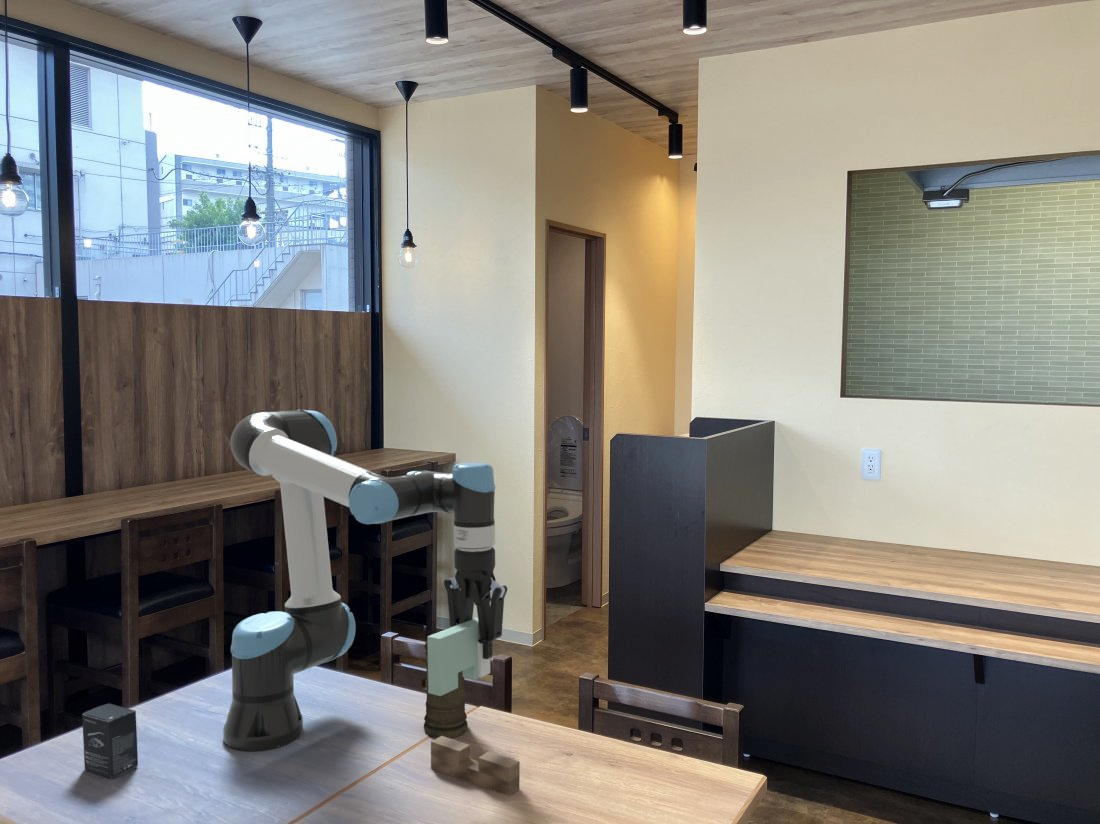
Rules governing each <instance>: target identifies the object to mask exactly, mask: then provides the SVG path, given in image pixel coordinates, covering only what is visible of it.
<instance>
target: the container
mask: <svg viewBox="0 0 1100 824" xmlns="http://www.w3.org/2000/svg"><path fill="white" fill-rule="evenodd" d="M424 649H425V654H426V663H425V666H426V701H425V710H426V711H425V715H424V716H423V719H424V722H423V729H424V731H425V733H426V734H427V735H429V736H431V737H436V738H438V737H440V736H444V737H447V738H453V737H458V736H461V735H462V734H464V733H465V732H466V731H467V730H468V729H467V728H468V721H467V718H468V717H467V714H466V699H465V677H463V671H461V672H459V673H458V688H457V689H455V690H452V691H450V692H448V693H446V694H444V695H442V696H438V695H434V694H430V693H428V643H427V641H425V643H424Z"/></svg>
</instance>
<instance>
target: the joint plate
mask: <svg viewBox="0 0 1100 824" xmlns="http://www.w3.org/2000/svg"><path fill="white" fill-rule="evenodd" d="M426 637H427V640H426V642H427V643H428V693H430V694H434V695H438V696H442V695H444V694H446V693H448V692H450V691H452V690H455V689H457V688H458V673H459V672H461V671H463V677H464V679H469V680H473V681H475V680H477V679H480V677H478V668H477V642H478V640H480V639H481V638H480V630H479V622H478V616H477V617H473V619H472V620H469V621H466V622H464V623H461V624H459V625H456V626H453V627H451V628H450V627H449V628H448V627H447V628H446V629H444V630H441V631H438V632H436V633H435V632H434V633H433V634H430V635H428V636H426ZM490 673H491V670H490Z"/></svg>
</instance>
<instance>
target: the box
mask: <svg viewBox="0 0 1100 824" xmlns="http://www.w3.org/2000/svg"><path fill="white" fill-rule="evenodd" d="M81 718H82V719H81V720H82V738H83V739H82V740H83V759H84V760H83V761H84V762H83V763H84V770H86V771H89V772H91V773H96V774H98V775H101V776H103V777H107V778H110V779H113V778H116V777H117V778H118V777H119V776H121V775H123V774H125V773H127V772H130V771H131V770H133V769H136V768H137V767H138V765H139V762H138V761H139V760H138V759H139V758H138V756H139V755H138V734H137V733H138V732H137V731H138V729H137V728H138V727H137V711H136V710H134V709H130V708H128V707H127V708H126V707H123V706H119V705H117V704H112V703H106V704H103V705H102V704H101V705H100V706H97V707H94V708H91V709H90V710H86V711H85V712H83V713H82V714H81Z"/></svg>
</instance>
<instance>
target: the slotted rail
mask: <svg viewBox="0 0 1100 824" xmlns="http://www.w3.org/2000/svg"><path fill="white" fill-rule="evenodd" d="M520 764H521V763H520V760H516V759H513V758H511V757H508V756H504V755H501V754H499V753H496V752H492V751H487V752H485V753H484V754H483V755H480V756H479V757H478V760H475V759H473V758H471V745H470V744H468V743H465V742H462V741H460V740H459V741H458V740H456V739H453V738H451V737H448V738H447V737H444V736H440V737H436V738H435V739H433V740H432V741H430V769H432V770H435V771H438V772H440V773H444V774H447V775H448V776H452V777H455V778H458V779H460V780H463V781H465V782H469V783H472V784H473V785H474V784H475V785H477V786H478V787H482V788H485V789H487V790H492V791H493V792H495V793H499V794H502V795H505V796H507V797H511V796H512V795H513V794H515V793H516V792H517V791H519V790H520V776H521V775H520V772H521V771H520V769H521V768H520V766H521V765H520Z"/></svg>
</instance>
